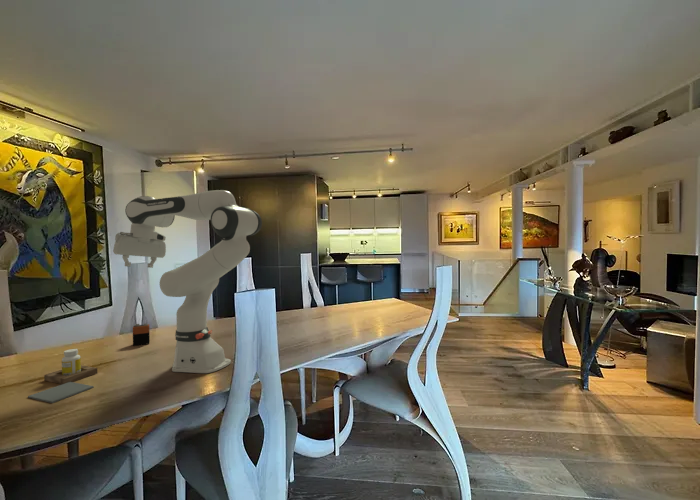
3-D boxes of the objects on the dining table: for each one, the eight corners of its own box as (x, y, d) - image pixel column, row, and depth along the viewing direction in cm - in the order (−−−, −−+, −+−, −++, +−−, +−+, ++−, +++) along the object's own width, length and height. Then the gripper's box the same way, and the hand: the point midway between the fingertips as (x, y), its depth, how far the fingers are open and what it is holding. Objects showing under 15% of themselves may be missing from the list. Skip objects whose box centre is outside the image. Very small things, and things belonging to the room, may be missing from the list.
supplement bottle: (78, 373, 128) (78, 347, 128) (82, 376, 125) (82, 349, 125) (60, 377, 124) (59, 350, 124) (63, 381, 121) (63, 353, 120)
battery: (133, 344, 166) (133, 323, 166) (149, 342, 169) (149, 322, 169) (132, 346, 162) (132, 325, 162) (149, 344, 166) (149, 323, 165)
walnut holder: (97, 373, 128) (97, 367, 128) (64, 384, 117) (64, 378, 117) (78, 369, 131) (78, 364, 131) (44, 380, 121) (44, 375, 121)
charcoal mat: (93, 387, 114) (93, 386, 114) (52, 403, 103) (52, 401, 103) (70, 383, 119) (70, 381, 119) (27, 397, 107) (27, 396, 107)
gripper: (120, 231, 133) (117, 266, 132) (169, 237, 151) (166, 268, 150) (111, 231, 136) (108, 265, 135) (160, 237, 154) (157, 267, 153)
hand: (139, 267), depth 143 cm, fingers open, 8 cm apart
